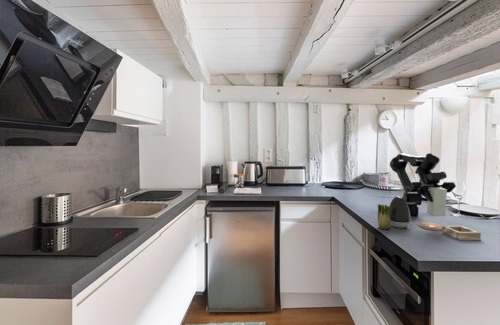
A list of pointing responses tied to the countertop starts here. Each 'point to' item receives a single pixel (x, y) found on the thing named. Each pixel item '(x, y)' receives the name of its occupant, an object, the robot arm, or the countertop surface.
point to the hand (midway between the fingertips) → (438, 201)
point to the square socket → (461, 232)
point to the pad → (430, 226)
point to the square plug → (437, 201)
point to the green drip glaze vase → (383, 216)
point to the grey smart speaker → (399, 213)
